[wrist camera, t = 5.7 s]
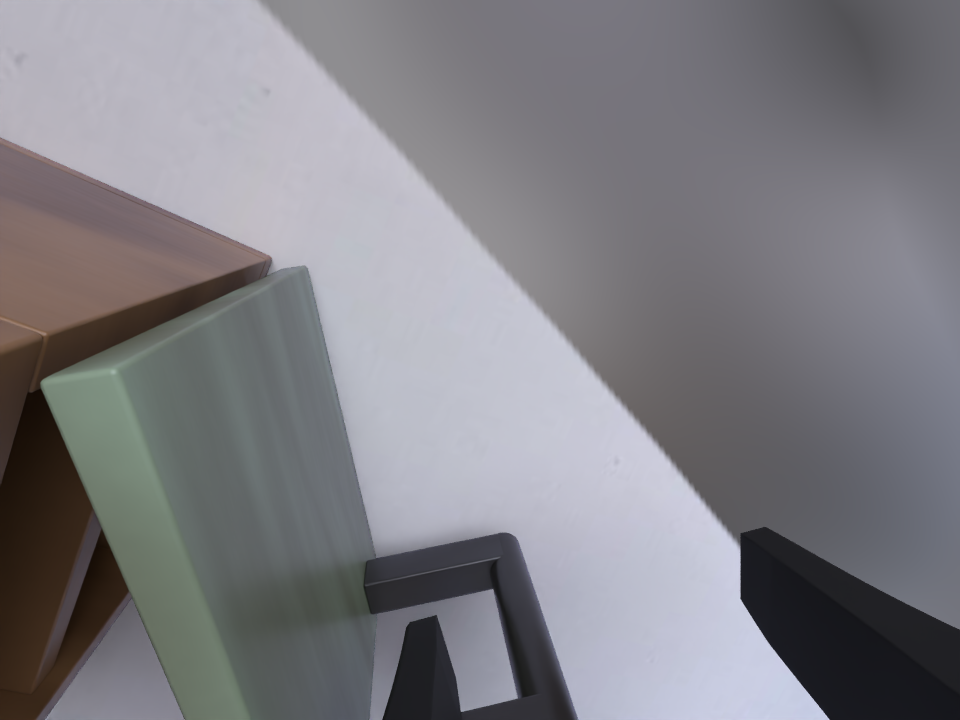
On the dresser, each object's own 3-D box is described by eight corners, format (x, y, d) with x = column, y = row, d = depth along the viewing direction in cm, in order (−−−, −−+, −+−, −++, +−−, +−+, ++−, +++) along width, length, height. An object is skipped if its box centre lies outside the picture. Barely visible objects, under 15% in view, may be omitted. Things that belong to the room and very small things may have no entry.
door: (473, 240, 15) (587, 292, 6) (513, 548, 19) (627, 909, 9) (280, 268, 15) (33, 380, 5) (359, 580, 18) (304, 1001, 9)
